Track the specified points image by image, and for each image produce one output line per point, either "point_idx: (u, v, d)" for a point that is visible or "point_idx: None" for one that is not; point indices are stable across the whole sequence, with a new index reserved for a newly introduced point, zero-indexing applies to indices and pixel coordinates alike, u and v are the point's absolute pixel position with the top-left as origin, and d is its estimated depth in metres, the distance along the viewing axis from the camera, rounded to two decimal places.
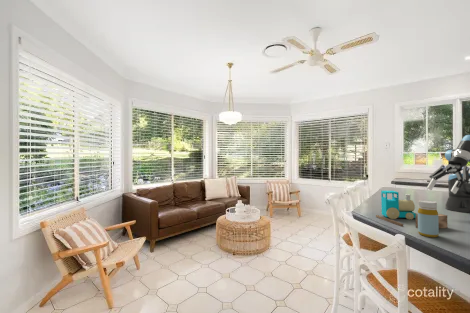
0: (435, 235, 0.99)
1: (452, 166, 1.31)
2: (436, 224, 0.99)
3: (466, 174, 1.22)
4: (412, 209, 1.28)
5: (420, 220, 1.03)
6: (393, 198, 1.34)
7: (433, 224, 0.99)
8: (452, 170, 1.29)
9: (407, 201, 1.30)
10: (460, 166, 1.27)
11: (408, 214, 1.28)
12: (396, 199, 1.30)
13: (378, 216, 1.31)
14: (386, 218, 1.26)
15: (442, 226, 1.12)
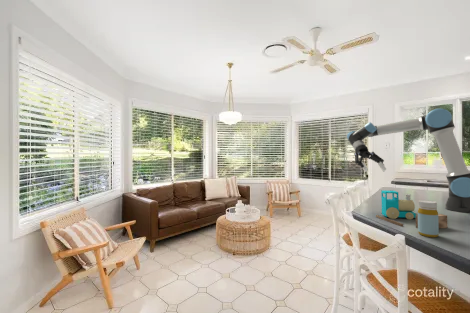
0: (435, 235, 0.99)
1: None
2: (436, 224, 0.99)
3: (355, 159, 1.58)
4: (412, 209, 1.28)
5: (420, 220, 1.03)
6: (393, 198, 1.34)
7: (432, 224, 0.99)
8: None
9: (407, 201, 1.30)
10: None
11: (408, 214, 1.28)
12: (396, 199, 1.31)
13: (378, 216, 1.31)
14: (386, 218, 1.26)
15: (442, 226, 1.12)
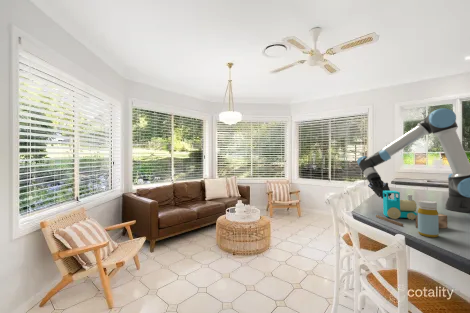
0: (435, 235, 0.99)
1: None
2: (436, 224, 0.99)
3: (374, 191, 1.45)
4: (414, 209, 1.28)
5: (420, 220, 1.03)
6: (395, 198, 1.34)
7: (432, 224, 0.99)
8: None
9: (409, 201, 1.29)
10: None
11: (410, 214, 1.27)
12: (397, 199, 1.30)
13: (378, 216, 1.31)
14: (386, 218, 1.26)
15: (442, 226, 1.12)
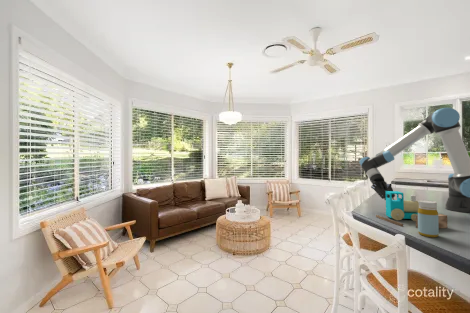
0: (435, 235, 0.99)
1: None
2: (436, 224, 0.99)
3: (377, 193, 1.42)
4: (417, 210, 1.25)
5: (420, 220, 1.03)
6: (398, 199, 1.31)
7: (432, 224, 0.99)
8: None
9: (412, 202, 1.26)
10: None
11: (413, 215, 1.25)
12: (401, 200, 1.27)
13: (378, 216, 1.31)
14: (386, 218, 1.26)
15: (442, 226, 1.12)
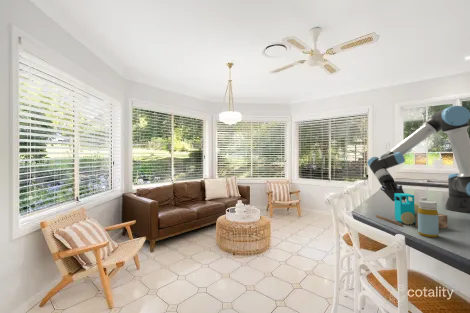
0: (435, 235, 0.99)
1: None
2: (436, 224, 0.99)
3: (388, 195, 1.34)
4: None
5: (420, 220, 1.03)
6: (408, 201, 1.23)
7: (432, 224, 0.99)
8: None
9: None
10: None
11: None
12: (411, 203, 1.20)
13: (378, 216, 1.31)
14: (386, 218, 1.26)
15: (442, 226, 1.12)
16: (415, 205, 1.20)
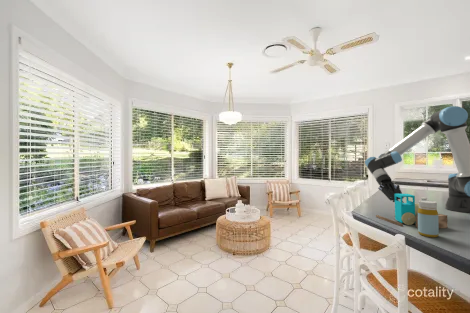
0: (435, 235, 0.99)
1: None
2: (436, 224, 0.99)
3: (385, 194, 1.36)
4: None
5: (420, 220, 1.03)
6: (408, 202, 1.23)
7: (432, 224, 0.99)
8: None
9: None
10: None
11: None
12: (412, 203, 1.19)
13: (378, 216, 1.31)
14: (386, 218, 1.26)
15: (442, 226, 1.12)
16: (415, 205, 1.19)
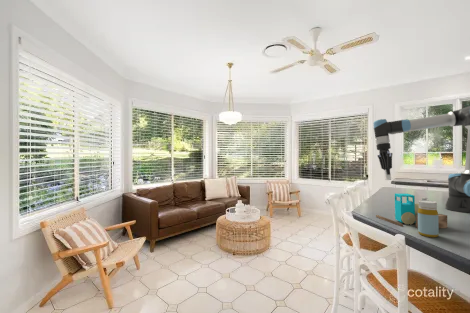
0: (435, 235, 0.99)
1: (381, 149, 1.50)
2: (436, 224, 0.99)
3: (388, 162, 1.43)
4: None
5: (420, 220, 1.03)
6: (408, 202, 1.23)
7: (432, 224, 0.99)
8: None
9: None
10: (386, 151, 1.45)
11: None
12: (412, 203, 1.20)
13: (378, 216, 1.31)
14: (386, 218, 1.26)
15: (442, 226, 1.12)
16: (415, 205, 1.20)
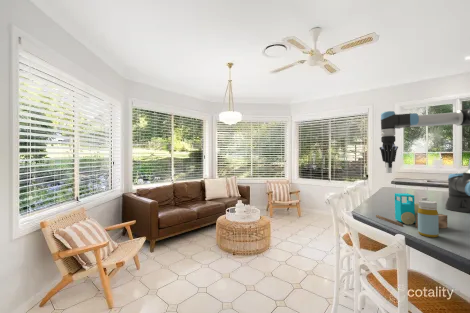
0: (435, 235, 0.99)
1: (385, 142, 1.48)
2: (436, 224, 0.99)
3: (392, 155, 1.43)
4: None
5: (420, 220, 1.03)
6: (408, 201, 1.23)
7: (432, 224, 0.99)
8: None
9: None
10: (391, 144, 1.43)
11: None
12: (411, 203, 1.20)
13: (378, 216, 1.31)
14: (386, 218, 1.26)
15: (442, 226, 1.12)
16: (415, 205, 1.20)
